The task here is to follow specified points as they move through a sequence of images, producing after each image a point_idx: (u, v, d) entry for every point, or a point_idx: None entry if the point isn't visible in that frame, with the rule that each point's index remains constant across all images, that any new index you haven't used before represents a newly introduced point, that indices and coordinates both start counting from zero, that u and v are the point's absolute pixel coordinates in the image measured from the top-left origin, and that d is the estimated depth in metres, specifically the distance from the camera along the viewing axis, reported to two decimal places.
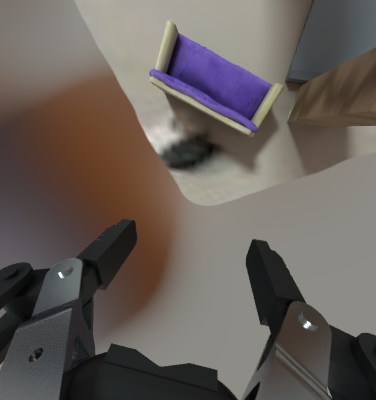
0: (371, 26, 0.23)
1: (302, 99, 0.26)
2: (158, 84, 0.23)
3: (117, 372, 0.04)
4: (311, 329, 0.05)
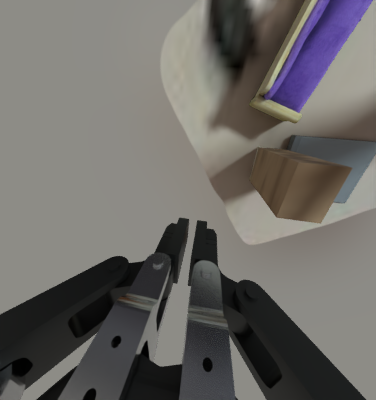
0: None
1: (278, 150, 0.31)
2: None
3: None
4: (203, 276, 0.06)
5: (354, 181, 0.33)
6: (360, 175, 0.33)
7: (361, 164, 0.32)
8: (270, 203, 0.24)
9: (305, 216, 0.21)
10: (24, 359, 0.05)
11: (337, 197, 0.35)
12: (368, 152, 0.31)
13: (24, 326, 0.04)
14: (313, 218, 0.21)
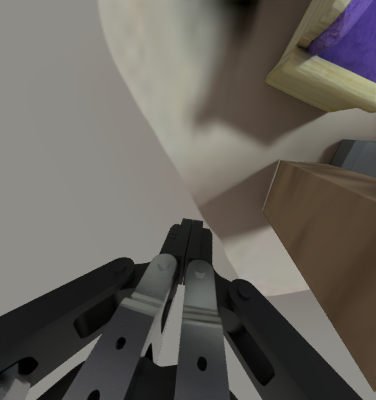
0: None
1: (320, 167, 0.17)
2: None
3: None
4: (197, 275, 0.06)
5: None
6: None
7: None
8: (333, 311, 0.10)
9: None
10: (30, 357, 0.05)
11: None
12: None
13: (31, 325, 0.04)
14: None
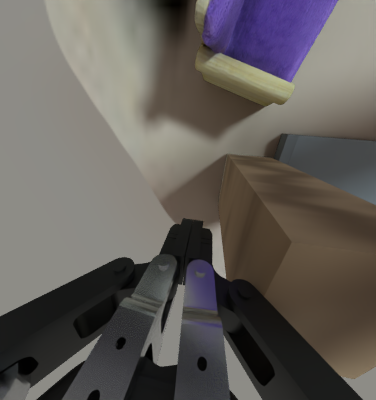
0: None
1: (257, 159, 0.17)
2: None
3: None
4: (197, 275, 0.06)
5: None
6: None
7: None
8: None
9: None
10: (30, 357, 0.05)
11: None
12: None
13: (31, 325, 0.04)
14: (335, 368, 0.07)
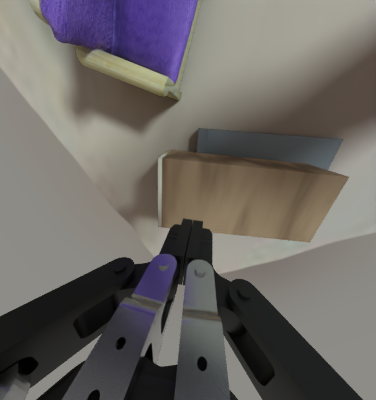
0: None
1: (191, 155, 0.17)
2: None
3: None
4: (197, 275, 0.06)
5: None
6: None
7: None
8: (285, 234, 0.17)
9: None
10: (30, 357, 0.05)
11: None
12: (321, 156, 0.18)
13: (31, 325, 0.04)
14: None
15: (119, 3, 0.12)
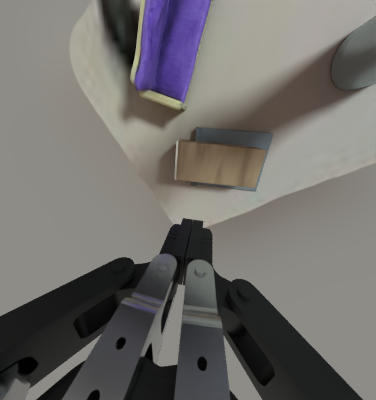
0: None
1: (192, 141, 0.32)
2: None
3: None
4: (197, 275, 0.06)
5: None
6: (262, 164, 0.36)
7: None
8: (241, 183, 0.32)
9: None
10: (30, 357, 0.05)
11: None
12: (263, 142, 0.33)
13: (31, 325, 0.04)
14: None
15: (158, 69, 0.27)
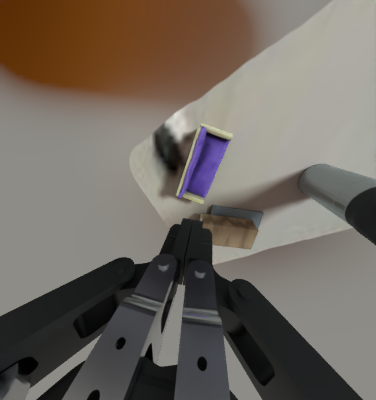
0: None
1: (209, 218, 0.48)
2: (196, 135, 0.33)
3: None
4: (197, 275, 0.06)
5: None
6: None
7: (255, 223, 0.51)
8: (242, 246, 0.48)
9: None
10: (30, 357, 0.05)
11: None
12: (257, 217, 0.50)
13: (30, 325, 0.04)
14: None
15: (190, 181, 0.44)
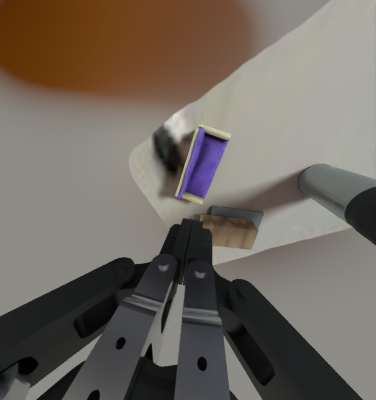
0: None
1: (209, 219, 0.48)
2: (194, 135, 0.33)
3: None
4: (197, 275, 0.06)
5: None
6: None
7: (255, 223, 0.51)
8: (242, 247, 0.48)
9: None
10: (30, 357, 0.05)
11: None
12: (257, 217, 0.50)
13: (31, 325, 0.04)
14: None
15: (189, 182, 0.44)
